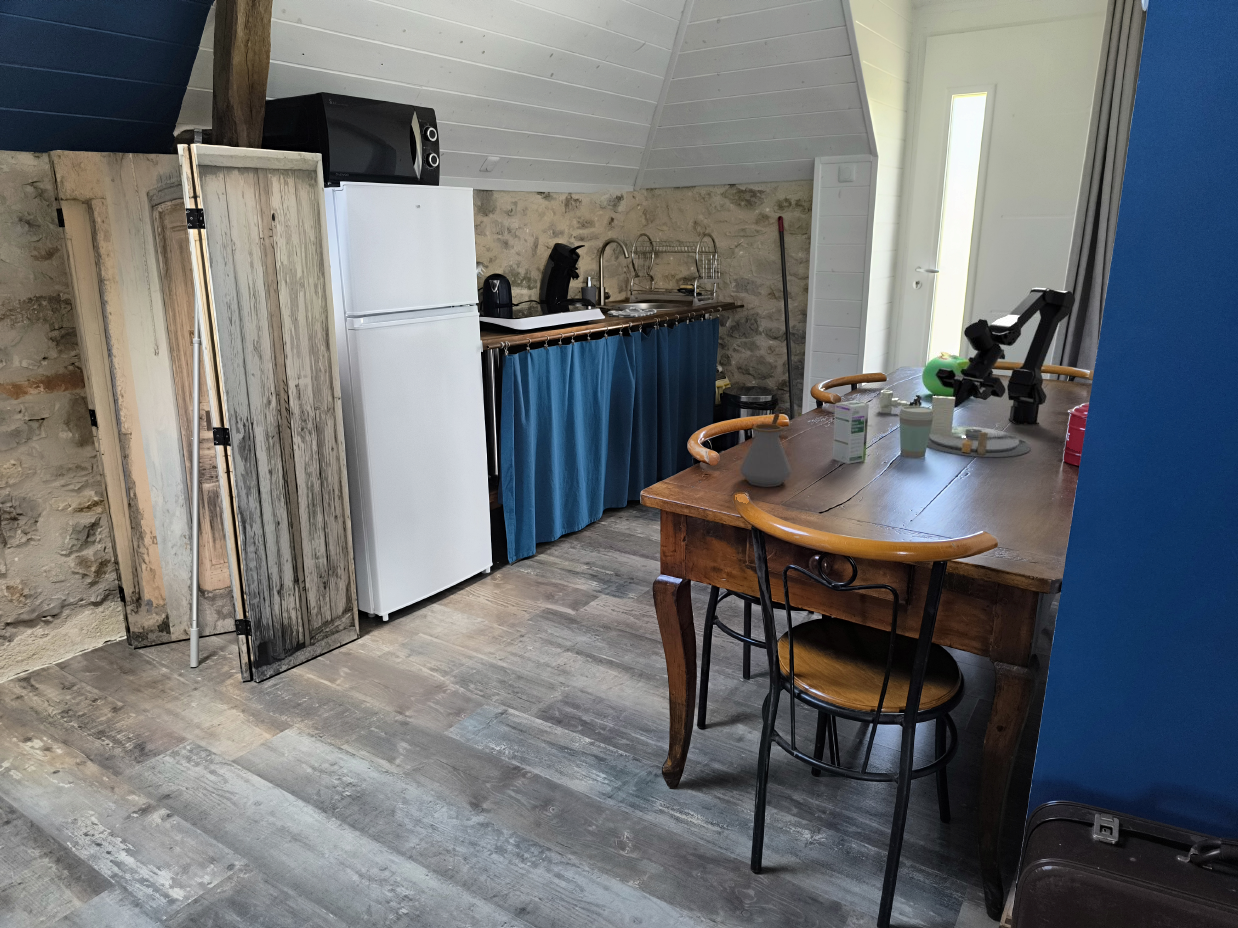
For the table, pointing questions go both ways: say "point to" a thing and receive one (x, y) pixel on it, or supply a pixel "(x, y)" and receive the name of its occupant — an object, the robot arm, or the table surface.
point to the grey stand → (964, 431)
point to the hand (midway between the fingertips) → (953, 406)
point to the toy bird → (938, 363)
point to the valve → (894, 402)
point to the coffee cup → (915, 430)
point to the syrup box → (850, 431)
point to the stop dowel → (982, 443)
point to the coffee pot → (766, 456)
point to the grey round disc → (1020, 450)
